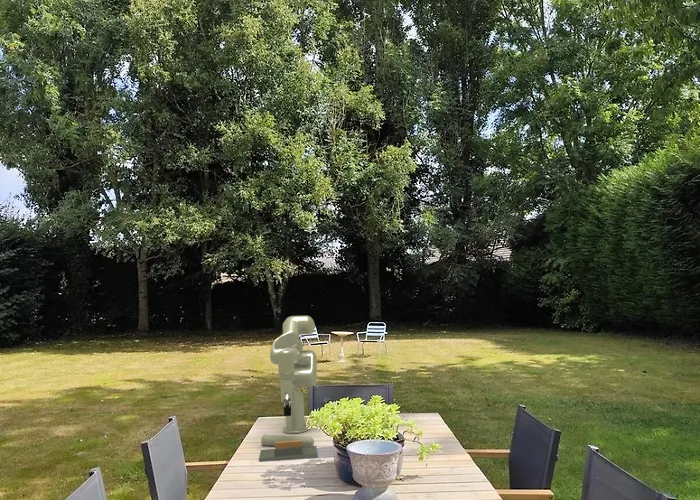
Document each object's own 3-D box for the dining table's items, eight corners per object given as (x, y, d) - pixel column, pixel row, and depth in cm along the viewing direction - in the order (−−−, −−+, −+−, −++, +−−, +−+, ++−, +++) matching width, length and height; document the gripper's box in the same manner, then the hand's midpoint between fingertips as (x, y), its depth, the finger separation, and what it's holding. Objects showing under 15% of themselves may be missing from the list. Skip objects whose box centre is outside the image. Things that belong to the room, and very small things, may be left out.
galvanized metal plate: (260, 453, 253) (260, 443, 254) (316, 449, 256) (316, 439, 256) (259, 461, 241) (258, 450, 242) (317, 457, 244) (317, 446, 244)
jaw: (275, 448, 254) (275, 442, 254) (302, 446, 255) (301, 440, 255) (275, 449, 253) (275, 442, 253) (302, 447, 254) (301, 441, 254)
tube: (315, 436, 263) (266, 434, 269) (312, 435, 258) (261, 434, 265) (315, 448, 261) (264, 446, 268) (311, 448, 256) (260, 446, 263)
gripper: (279, 374, 273) (280, 410, 272) (277, 379, 256) (279, 418, 255) (294, 373, 274) (295, 409, 273) (294, 379, 257) (295, 417, 256)
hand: (287, 413), depth 264 cm, fingers open, 9 cm apart
